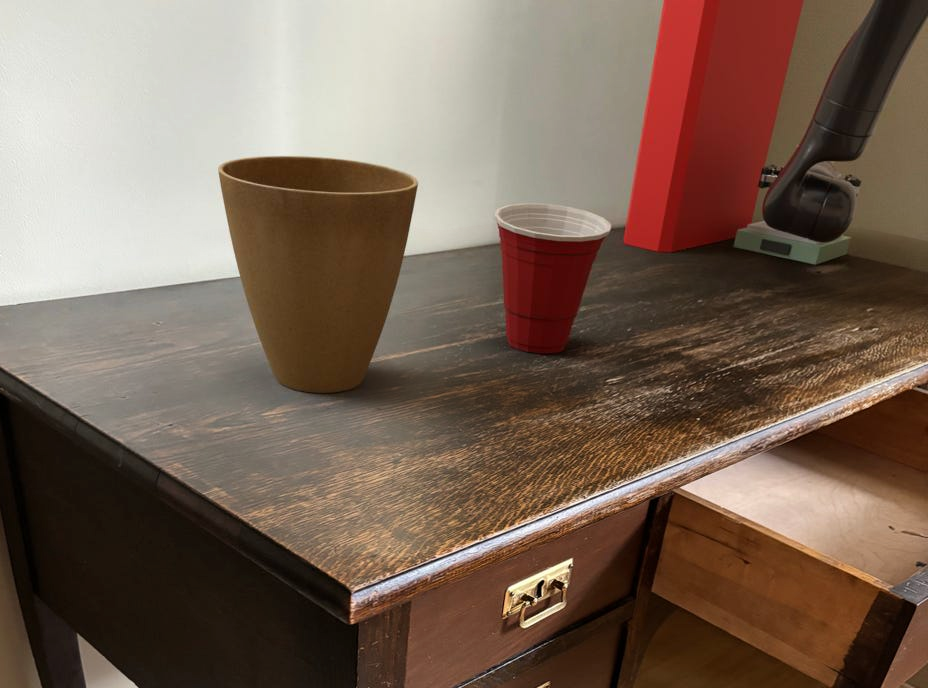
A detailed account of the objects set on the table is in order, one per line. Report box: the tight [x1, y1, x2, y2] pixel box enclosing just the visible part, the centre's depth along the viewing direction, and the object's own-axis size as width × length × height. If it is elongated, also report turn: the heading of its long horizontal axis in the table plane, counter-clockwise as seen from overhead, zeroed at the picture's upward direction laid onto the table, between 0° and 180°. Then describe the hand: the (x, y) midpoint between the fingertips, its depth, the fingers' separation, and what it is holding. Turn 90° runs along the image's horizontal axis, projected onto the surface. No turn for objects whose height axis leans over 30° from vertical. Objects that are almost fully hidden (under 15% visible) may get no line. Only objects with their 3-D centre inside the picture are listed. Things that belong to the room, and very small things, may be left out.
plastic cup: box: [493, 202, 612, 354], centre depth 91 cm, size 11×11×12 cm
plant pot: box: [217, 155, 419, 394], centre depth 77 cm, size 15×15×16 cm
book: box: [622, 0, 805, 253], centre depth 140 cm, size 27×8×32 cm, turn 140°
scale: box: [732, 220, 852, 266], centre depth 146 cm, size 13×13×3 cm
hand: (808, 176), depth 144 cm, fingers closed on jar, 5 cm apart
